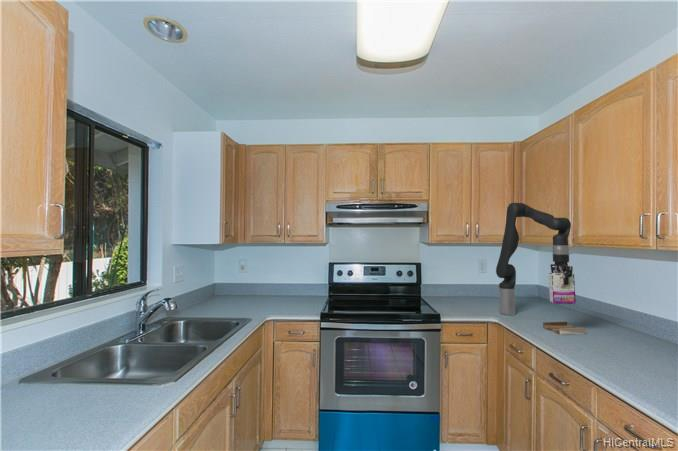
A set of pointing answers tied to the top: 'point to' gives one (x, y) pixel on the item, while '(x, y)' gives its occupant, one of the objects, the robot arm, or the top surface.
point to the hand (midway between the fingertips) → (561, 283)
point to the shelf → (563, 328)
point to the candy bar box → (561, 289)
